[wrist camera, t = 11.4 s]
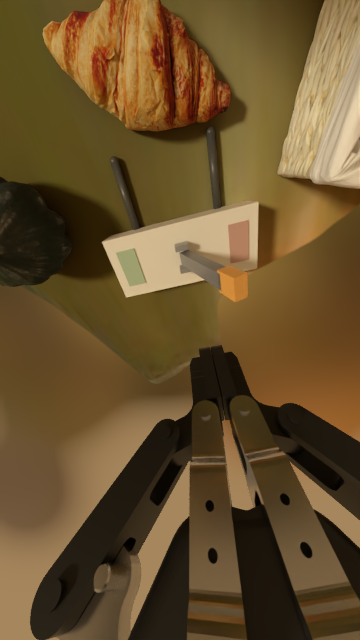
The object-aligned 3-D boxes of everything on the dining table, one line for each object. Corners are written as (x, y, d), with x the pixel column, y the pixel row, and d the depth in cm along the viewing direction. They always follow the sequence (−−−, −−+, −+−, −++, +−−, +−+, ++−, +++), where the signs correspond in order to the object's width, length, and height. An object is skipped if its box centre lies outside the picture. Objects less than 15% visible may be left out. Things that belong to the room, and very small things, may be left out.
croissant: (71, 99, 26) (47, 121, 22) (33, -65, 17) (-16, -72, 13) (216, 139, 28) (216, 165, 25) (249, 14, 19) (257, 26, 16)
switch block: (82, 166, 27) (58, 160, 22) (246, 116, 25) (267, 94, 19) (131, 286, 39) (124, 302, 33) (247, 259, 36) (261, 272, 30)
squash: (-84, 218, 26) (-80, 300, 21) (-53, 114, 21) (-38, 190, 16) (34, 256, 38) (54, 313, 33) (72, 196, 33) (102, 253, 28)
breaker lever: (178, 250, 29) (233, 278, 17) (187, 247, 29) (247, 272, 17) (182, 266, 30) (235, 302, 19) (190, 263, 30) (247, 296, 19)
